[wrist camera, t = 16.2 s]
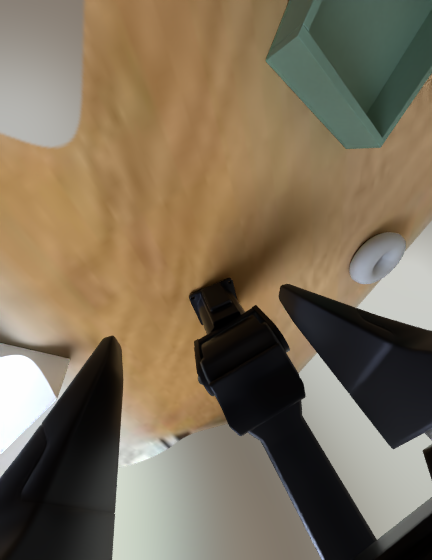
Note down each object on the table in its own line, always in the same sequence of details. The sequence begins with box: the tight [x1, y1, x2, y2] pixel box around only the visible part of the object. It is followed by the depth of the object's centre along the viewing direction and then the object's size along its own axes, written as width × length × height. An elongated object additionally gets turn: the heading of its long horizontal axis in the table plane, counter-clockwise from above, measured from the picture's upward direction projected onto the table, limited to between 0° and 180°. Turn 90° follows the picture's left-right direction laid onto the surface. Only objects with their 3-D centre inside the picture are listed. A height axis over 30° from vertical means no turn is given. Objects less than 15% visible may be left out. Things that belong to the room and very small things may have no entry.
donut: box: [349, 232, 406, 284], centre depth 33 cm, size 10×4×10 cm
